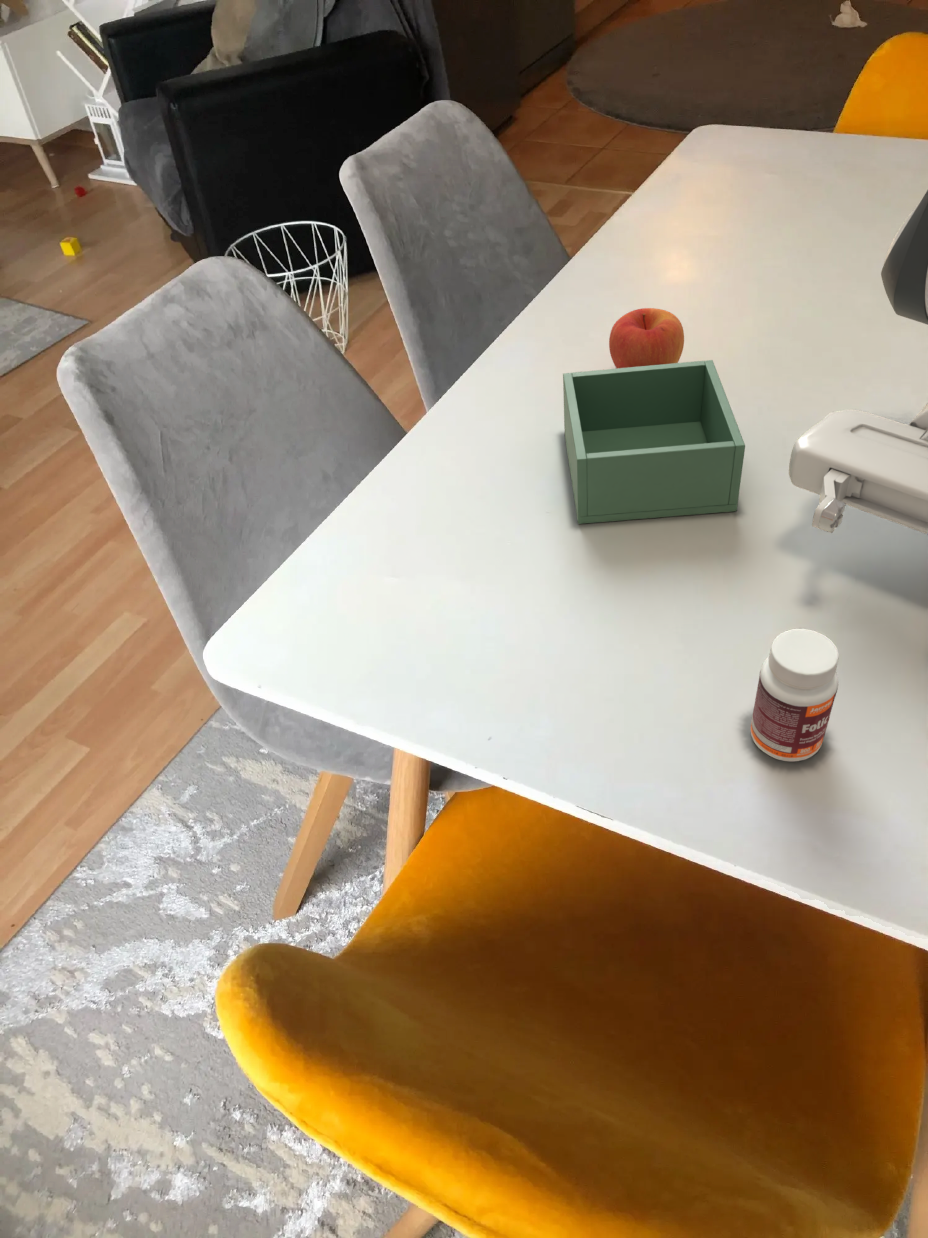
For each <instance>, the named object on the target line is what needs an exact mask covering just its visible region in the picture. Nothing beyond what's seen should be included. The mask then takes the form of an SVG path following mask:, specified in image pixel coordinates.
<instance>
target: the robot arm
mask: <svg viewBox="0 0 928 1238" xmlns="http://www.w3.org/2000/svg"><path fill="white" fill-rule="evenodd" d="M885 254H886V255H885V257H884V261H883V265H882V266H883V267H882V269H881V271H880V275H881V276H880V277H881V281H882V285H883V288H884V291H885V294H886V296H887V298H888V301H889V304H890V305H891V307H892V309H893V311H894V313H895V314H896V315H897V316H899V317H903V318H907V319H909V320H912V321H915V322H918V323H922V324H924V325H928V189H927V190H926V192H925V193H924V195H923V197H921V200H920V201H919V202H918V203H917V204H916V206H914V208H913V209H912V211H911V212H910V213H909V214H908V216H907V217H906V218H905V219H904V221H903V223H902V224H901V225H900V227H899V228H898V230H897V232H896V233H895V235H894V237H893V238H892V240H891V243H890V245H889V246H888V249H887V251H886V253H885ZM788 476H789V479H790V482H791V484H792V485H793V486H795V487H797V488H799V489H802V490H805V491H807V492H810V493H813V494H816V495H819V498H818V502H819V504H818V505H817V506H816V508H815V510H814V512H813V517H812V522H811V526H812V527H814V528H816V529H819V530H821V531H824V532H826V533H830V534H833V533H834V532H835V530H836V528H838V527H839V526H840V525H841V524H842V522H843V517H844V514H843V513H844V512H845V511H846V510H845V509H846V505H847V506H849V507H852V508H854V509H857V510H860V511H863V512H865V513H868V514H871V515H873V516H877V517H878V518H881V519H885V520H887V521H890V522H892V523H895V524H899V525H900V526H903V527H907V528H908V529H912V530H914V531H917V532H919V533H923V534H924V535H925V534H926V535H928V402H927V403H926V404H925V405H924V406H923V408H922V409H921V410H920V411H919V412H918V413H917V415H916V416H914V418H913V419H912V420H911V421H910V422H909V424H907V423H903V422H900V421H897V420H894V419H892V418H891V419H890V418H887V417H884V416H880V415H877V414H874V413H871V412H869V411H864V410H861V409H860V410H858V409H853V408H850V409H849V408H847V409H841V410H838V411H831V412H829V413H827V414H826V415H825V416H824V417H823V418H822V419H821V420H820V421H818V422H817V423H815V424H814V425H812V426H811V427H810V428H809V429H807V430H806V431H805V432H804V433H803V434H801V435H800V436H799V437H798V438H797V439H796V440H795V441H794V443H793V446H792V449H791V452H790V457H789V463H788Z"/></svg>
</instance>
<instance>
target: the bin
mask: <svg viewBox="0 0 928 1238" xmlns="http://www.w3.org/2000/svg"><path fill="white" fill-rule="evenodd" d="M562 384H563V385H562V386H563V387H562V388H563V391H562V392H563V420H564V421H563V422H564V423H563V425H564V440H565V447H566V454H567V461H568V467H569V472H570V479H571V487H572V493H573V494H572V495H573V498H574V505H575V506H574V507H575V513H576V514H575V515H576V519H577V524H578V525H582V524H595V523H606V522H619V521H631V520H632V521H634V520H643V519H644V520H645V519H657V518H667V517H668V518H669V517H679V516H681V517H682V516H693V515H704V514H705V515H706V514H718V513H729V512H730V513H731V512H737V511H738V503H739V497H740V490H741V481H742V473H743V466H744V459H745V458H744V457H745V451H746V450H745V449H746V444H745V441H744V439H743V436H742V433H741V430H740V427H739V425H738V423H737V421H736V420H737V419H736V418H735V415H734V411H733V409H732V407H731V405H730V401H729V399H728V397H727V394H726V392H725V389H724V387H723V383H722V381H721V378H720V376H719V373H718V371H717V368H716V365H715V363H714V360H713V359H707V360H696V361H684V362H678V363H672V364H661V365H650V366H639V367H628V368H608V369H596V370H586V371H575V372H564V373H562Z"/></svg>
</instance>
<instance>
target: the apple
mask: <svg viewBox="0 0 928 1238" xmlns="http://www.w3.org/2000/svg"><path fill="white" fill-rule="evenodd" d="M608 339H609V340H608V348H609V353H610V357H611V360H612V362H613V365H614V367H615V369H617V368H628V367H639V366H650V365H661V364H672V363H679V361H680V359H681V357H682V354H683V351H684V347H685V331H684V327H683V324H682V322H681V320H680V319H679V318H678V316H676V315H675V314H674V313H672V312H670V311H668V310H665V309H661V308H655V307H644V308H643V307H642V308H637V309H633V310H631V311H629V312H627V313H625V314H623V315H622V316H621V317H620V318H618V319H617V320H616V321H615V323H614V324H613V326H612V328H611V330H610V333H609V338H608Z"/></svg>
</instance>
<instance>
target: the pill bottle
mask: <svg viewBox="0 0 928 1238" xmlns="http://www.w3.org/2000/svg"><path fill="white" fill-rule="evenodd" d="M839 655H840V654H839V650H838V648H837V646H836V644H835V643H834V642H833V641H832V640H831V639H830V638H829V637H828V636H826V635H825V634H823V633H821V632H819V631H816V630H813V629H807V628H792V629H789V630H785V631H783V632H781V633H779V634H778V635H777V636H776V637H775V638H774V639H773V640H772V642H771V647H770V651H769V653H768V656H767V657H766V658H765V659H764V661H763V663H762V665H761V668H760V670H759V675H758V683H757V689H756V694H755V700H754V706H753V710H752V716H751V721H750V729H749V730H750V736H751V739H752V741H753V742H754V743H755V745H756V747H758V749H759V750H761V751H762V752H763V753H764V754H766V755H768V756H770V757H771V758H774V759H776V760H778V761H783V762H800V761H805V760H807V759H809V758H812V757H813V756H814V755H816V753H818V752H819V751H820V749H821V747H822V745H823V742H824V738H825V735H826V731H827V728H828V724H829V721H830V717H831V714H832V710H833V706H834V702H835V699H836V696H837V693H838V690H839V676H838V672H837V670H838V669H837V668H838V663H839V659H840V656H839Z"/></svg>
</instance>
